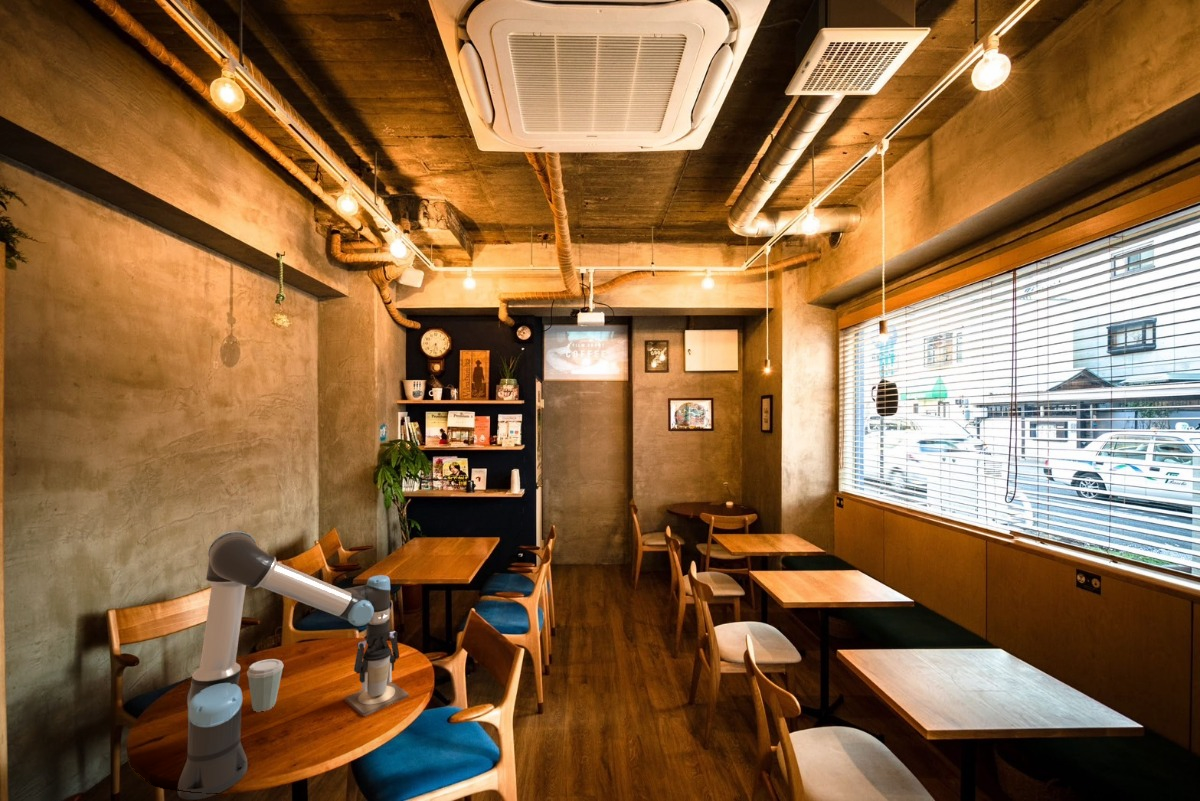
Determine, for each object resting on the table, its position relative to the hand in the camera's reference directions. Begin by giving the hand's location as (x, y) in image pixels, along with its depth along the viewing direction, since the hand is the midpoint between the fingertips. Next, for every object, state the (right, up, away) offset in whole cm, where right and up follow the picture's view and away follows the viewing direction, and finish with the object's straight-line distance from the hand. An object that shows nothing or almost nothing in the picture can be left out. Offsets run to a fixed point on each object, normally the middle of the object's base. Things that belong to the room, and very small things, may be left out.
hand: (376, 685), depth 177 cm
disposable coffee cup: (-36, -5, -5) cm, 37 cm away
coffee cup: (0, -2, 0) cm, 2 cm away
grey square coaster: (0, -5, 0) cm, 5 cm away
